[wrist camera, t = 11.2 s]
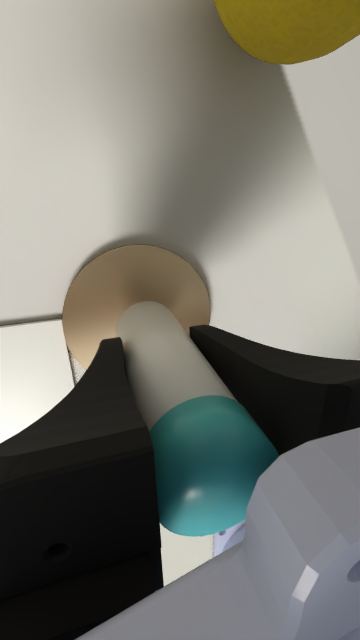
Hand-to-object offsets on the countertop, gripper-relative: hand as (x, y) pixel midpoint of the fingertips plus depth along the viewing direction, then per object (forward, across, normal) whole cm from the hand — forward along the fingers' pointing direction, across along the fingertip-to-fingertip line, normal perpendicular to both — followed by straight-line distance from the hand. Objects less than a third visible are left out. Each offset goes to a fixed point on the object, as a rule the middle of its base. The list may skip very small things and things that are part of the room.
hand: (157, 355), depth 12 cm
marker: (+2, 0, 0) cm, 2 cm away
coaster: (+4, 0, 0) cm, 4 cm away
